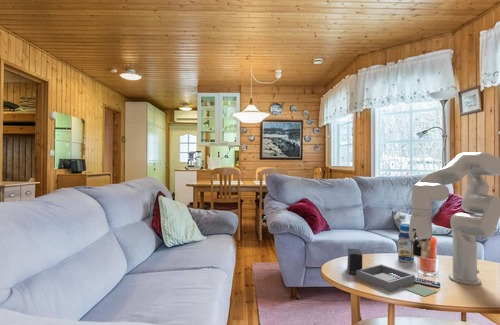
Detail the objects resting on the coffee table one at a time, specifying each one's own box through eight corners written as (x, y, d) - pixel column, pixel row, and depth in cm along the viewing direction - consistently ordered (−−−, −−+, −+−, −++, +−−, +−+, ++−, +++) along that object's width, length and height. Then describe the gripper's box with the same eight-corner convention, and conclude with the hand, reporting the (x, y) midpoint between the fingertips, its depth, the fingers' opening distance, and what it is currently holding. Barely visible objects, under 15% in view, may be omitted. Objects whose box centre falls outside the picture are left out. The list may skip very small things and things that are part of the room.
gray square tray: (380, 272, 162) (380, 264, 162) (414, 283, 146) (414, 275, 146) (356, 278, 153) (356, 270, 153) (389, 291, 137) (389, 282, 137)
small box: (363, 276, 156) (363, 254, 156) (349, 274, 158) (349, 253, 158) (360, 268, 167) (360, 248, 167) (347, 268, 168) (347, 248, 168)
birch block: (418, 254, 142) (418, 238, 142) (429, 256, 138) (430, 240, 138) (411, 255, 140) (412, 239, 140) (423, 258, 135) (423, 242, 135)
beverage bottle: (417, 262, 179) (418, 226, 179) (404, 262, 177) (404, 226, 177) (407, 257, 187) (407, 223, 187) (394, 258, 186) (394, 223, 186)
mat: (417, 284, 145) (417, 284, 145) (438, 291, 137) (438, 291, 137) (404, 289, 140) (404, 288, 140) (424, 296, 132) (424, 296, 132)
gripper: (424, 210, 146) (423, 250, 146) (401, 212, 138) (400, 255, 138) (441, 212, 140) (440, 254, 140) (418, 215, 131) (417, 259, 131)
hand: (420, 254), depth 139 cm, fingers closed on birch block, 5 cm apart
